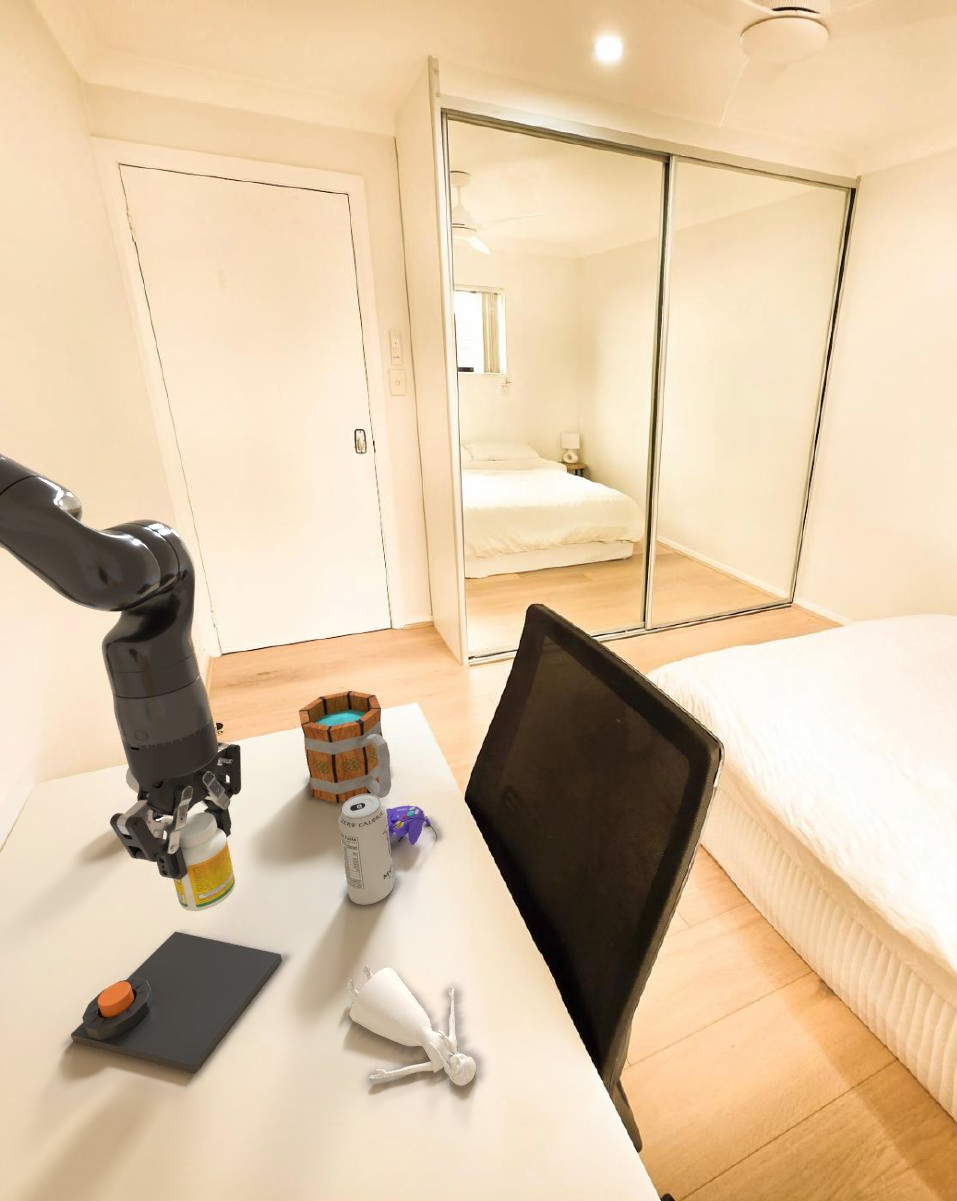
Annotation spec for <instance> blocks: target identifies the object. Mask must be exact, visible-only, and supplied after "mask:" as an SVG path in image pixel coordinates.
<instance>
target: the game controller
mask: <svg viewBox="0 0 957 1201" xmlns="http://www.w3.org/2000/svg"><path fill="white" fill-rule="evenodd" d="M386 811H387V820H388V830H389V838H390V837H392V835H394V834H395V836H397V837H398V838H399V840H398V841H397V842H398V843H399V842H401V840H402V839H403V837H404V836H406V835H407V837H408V842H409V843H410V845H415V844H416V843H417V842H418V840H419V837H420V836H421V835H422V831H423V826H424V823H426V826H428V827H430V828H431V829H432V831H433V833H434V834H435V836H436V837H438V834H437V832H436V831H435V829H434V827H432V825H431V821H430V819H429V818H428V816H427V815H426V814H425V812H424V810H423V809H421V808H420V807H419V806H417V805H416V806H415V805H414V806H413V805H401V806H396V807H393V808H386Z"/></svg>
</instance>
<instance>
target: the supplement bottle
mask: <svg viewBox="0 0 957 1201" xmlns="http://www.w3.org/2000/svg"><path fill="white" fill-rule="evenodd" d="M179 847H181V849H182V853H183V857H184V861H185V865H186V869H187V874H186V875H185V876H184V877H183V878H182V879H181V880H178V879H172V880H173V883H174V887H175V891H176V896H177V899H178V903H179V905H180V907H181V908H182V909H183V910H186V911H189V912H202V911H205V910H208V909H210V908H213V907H216V906H218V905H219V904H221V903H222V902H224V901H225V900H226V899H227V898H229V896H230V895H231V894H232V893H233V891H234V890H235V887H236V878H235V872H234V867H233V863H232V862H233V861H232V857H231V851H230V847H229V842H228V837H226V834H225V833H224V831H222V830H221V829H219V828H217V823H216V820H215V817H214V816H213V815H212V814H210V813H204V811H203V812H197V813H192V814H190V815H189V814H188V815H187V821H186V826H185V828H183V829H181V833H180V841H179Z"/></svg>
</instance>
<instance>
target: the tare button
mask: <svg viewBox="0 0 957 1201" xmlns="http://www.w3.org/2000/svg"><path fill="white" fill-rule="evenodd" d="M117 982H118V983H117ZM117 982H115V983H112V984H111V985H109V986H108V987H106V988H107V989H106V988H105V989H103V990H104V991H103V990H102V991H103V992H102V991H101V992H102V993H101V992H100V993H101V995H100V996H99V998H98V1005H99V1008H100V1011H101V1014H102V1015H103V1016H104V1017H107V1018H110V1017H115V1016H117V1015H119V1014H121V1013H122V1012H124V1011H126V1010H127V1009H128V1008H129V1007H130V1006H131V1004H132V1003H133V1000H134V995H133V992H132V989H131V986H130V984H129V983H128V982H119V981H117Z"/></svg>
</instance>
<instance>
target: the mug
mask: <svg viewBox="0 0 957 1201" xmlns="http://www.w3.org/2000/svg"><path fill="white" fill-rule="evenodd" d="M298 715H299V721H300V726H301V729H302V733H303V741H304V742H303V744H304V754H305V759H306V764H307V768H308V771H309V784H310V789H311V790H310V791H311V795H312V798H314V799H319V800H323V801H327V802H332V803H337V804H340V803H345V802H346V801H347V800H349V799H350V798H352V797H354V796H357V795H360V794H374V795H376V796H378V797H379V798H380V799H382V798H385V797H387V796H388V795H389V794H390V791H391V788H392V775H391V752H390V749H389V745H388V742H387V741H386V739H385V738H384V736H383V731H382V722H381V721H382V720H381V715H382V707H381V704H380V702H379V700H378V698H377V696H376V694H371V693H365V692H359V691H354V690H347V691H343V692H337V693H332V694H327V695H321V696H319V697H317V698H316V699H314V700H312V701H311V702H310V703H308V704H307V705H305V706H303V707H302V708H301V709H299V710H298Z"/></svg>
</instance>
